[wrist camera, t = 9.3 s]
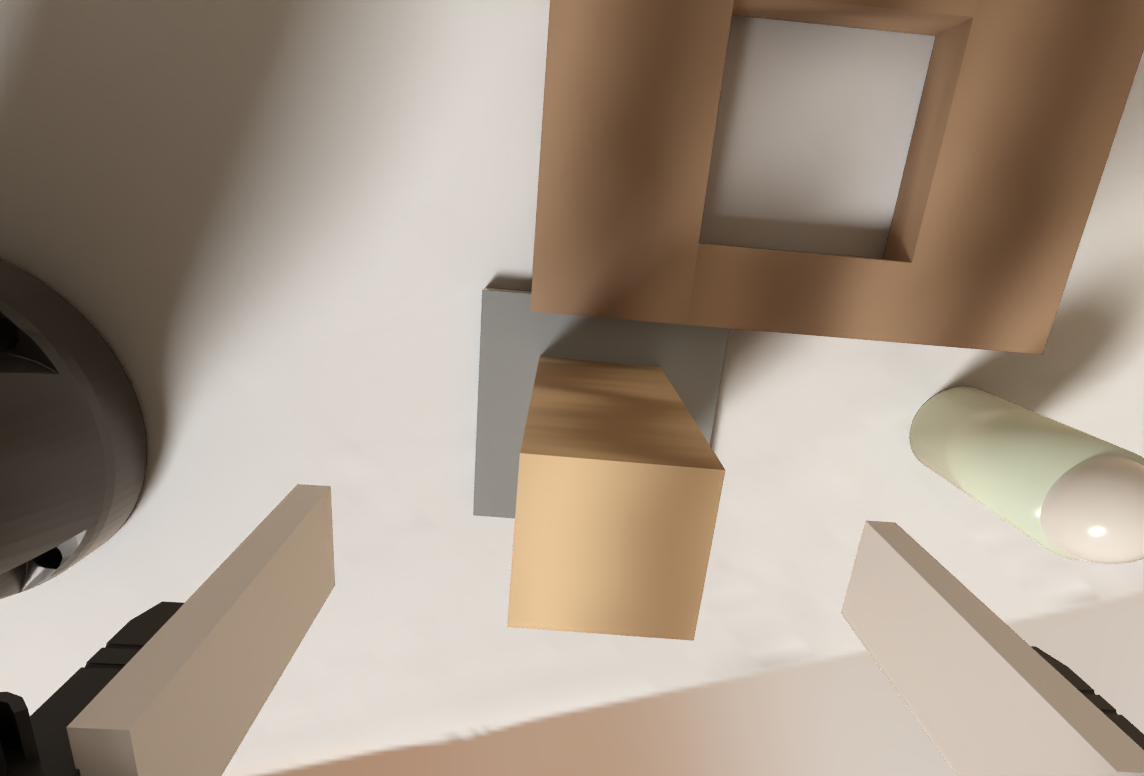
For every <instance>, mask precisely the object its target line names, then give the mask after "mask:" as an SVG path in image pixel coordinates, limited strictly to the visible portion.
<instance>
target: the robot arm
mask: <svg viewBox="0 0 1144 776" xmlns="http://www.w3.org/2000/svg"><path fill="white" fill-rule="evenodd" d="M146 458H147V453H146V436H145V429H144V424H143V419H142V415H141V411H140V408H139V405H138V402H137V399H136V396H135V393H134V391H133V389H132V386H131V384H130V382H129V380H128V378H127V376H126V374H125V372H124V370H123V368H122V367H121V365H120V363H119V362H118V360H117V358H116V357H115V355H114V354H113V352H112V351H111V349H110V348H109V346H108V345H107V344H106V342H105V341H104V340H103V339H102V337H101V336H100V335H99V334H98V332H97V331H96V330H95V329H94V328H93V327H92V325H91V324H90V323H89V322H88V321H87V320H86V319H85V318H84V317H83V316H82V315H81V314H80V313H79V312H78V311H77V310H76V309H75V308H74V307H72V306H71V305H70V304H69V303H68V302H67V301H66V300H64V299H63V298H62V297H61V296H60V295H58V294H57V293H56V292H55V291H53V290H52V289H50V288H49V287H48V286H46V285H45V284H43V283H42V282H40V281H39V280H37V279H36V278H34V277H33V276H31V275H29V274H28V273H26V272H24V271H22V270H20V269H19V268H17V267H15V266H13V265H11V264H9V263H7V262H5V261H3V260H1V259H0V599H2V598H5V597H8V596H11V595H14V594H17V593H20V592H23V591H26V590H28V589H31V588H33V587H35V586H38V585H40V584H42V583H44V582H46V581H48V580H50V579H52V578H54V577H56V576H57V575H59V574H61V573H62V572H64V571H65V570H67V569H68V568H70V567H71V566H73V565H74V564H75V563H77V562H78V561H80V560H81V559H83V558H84V557H86V556H87V555H88V554H90V553H91V552H93V551H94V550H96V549H97V548H98V547H100V546H101V545H102V544H104V543H105V542H106V541H108V540H109V539H110V538H111V537H112V536H113V535H114V534H115V533H116V532H117V531H118V530H119V529H120V528H121V526H122V525H123V524H124V522H125V521H126V520H127V518H128V517H129V515H130V513H131V512H132V510H133V508H134V506H135V504H136V502H137V500H138V497H139V494H140V492H141V489H142V485H143V481H144V476H145V470H146ZM334 586H335V575H334V553H333V530H332V507H331V486H316V485H300V484H298V485H297V486H296V487H295V488H294V489H293V490H292V491H291V492H290V493H289V494H288V495H287V496H286V497H285V498H284V499H283V500H282V501H281V502H280V504H279V505H278V506H277V507H276V508H275V509H274V510H273V511H272V512H271V513H270V514H269V515H268V516H267V517H266V518H265V519H264V520H263V521H262V522H261V523H260V525H259V526H258V527H257V528H256V529H255V530H254V531H253V532H252V533H251V534H250V535H249V536H248V537H247V538H246V539H245V540H244V541H243V542H242V543H241V544H240V546H239V547H238V548H237V549H236V550H235V551H234V552H233V553H232V554H231V555H230V556H229V557H228V558H227V559H226V560H225V561H224V562H223V563H222V564H221V565H220V567H219V568H218V569H217V570H216V571H215V572H214V573H213V574H212V575H211V576H210V577H209V578H208V579H207V580H206V581H205V582H204V583H203V584H202V585H201V586H200V588H199V589H198V590H197V591H196V592H195V593H194V594H193V595H192V596H191V597H190V598H189V599H188V600H187V601H186V602H185V603H177V602H161V603H159V604H158V605H156V606H154V607H152V608H151V609H149V610H147V611H146V612H144V613H142V614H141V615H139V616H137V617H135V618H134V619H132V620H130V621H129V622H128V623H127V624H126V625H125V626H124V627H123V628H122V629H121V630H120V631H119V632H118V633H117V634H116V635H115V636H114V637H113V638H112V639H111V640H110V641H108V642H107V645H106V647H105V648H101V649H100V650H99V651H98V652H97V653H96V654H95V655H94V656H93V657H92V658H91V659H90V660H89V661H88V662H87V663H86V666H85V668H80V669H79V670H78V671H77V672H76V673H75V674H74V675H73V676H72V677H71V678H70V679H69V680H68V681H67V682H66V683H65V684H64V685H63V686H61V687H60V688H59V689H58V690H57V691H56V692H55V693H54V694H53V695H52V696H51V697H50V698H49V699H48V700H47V701H46V702H45V703H44V704H43V705H42V706H41V707H40V708H38V709H37V710H36V711H35V712H34V713H33V714H32V715H31V716H29V712H28V708H27V706H26V704H25V702H24V700H23V698H22V697H20V696H17V695H15V694H12V693H9V692H0V776H222V774H223V772H224V770H225V769H226V767H227V765H228V764H229V762H230V760H231V759H232V757H233V755H234V754H235V752H236V750H237V749H238V747H239V745H240V744H241V742H242V740H243V739H244V737H245V735H246V734H247V732H248V730H249V728H250V727H251V725H252V723H253V722H254V720H255V718H256V717H257V715H258V713H259V712H260V710H261V708H262V707H263V705H264V703H265V702H266V700H267V698H268V697H269V695H270V693H271V692H272V690H273V688H274V686H275V685H276V683H277V681H278V680H279V678H280V676H281V675H282V673H283V671H284V670H285V668H286V666H287V665H288V663H289V661H290V660H291V658H292V656H293V655H294V653H295V651H296V650H297V648H298V646H299V644H300V643H301V641H302V639H303V638H304V636H305V634H306V633H307V631H308V629H309V628H310V626H311V624H312V623H313V621H314V619H315V618H316V616H317V614H318V613H319V611H320V609H321V608H322V606H323V604H324V602H325V601H326V599H327V597H328V596H329V594H330V592H331V591H332V589H333V587H334ZM841 614H842V615H843V617H844V618H845V620H846V621H847V622H848V624H849V625H850V627H851V628H852V630H853V631H854V632H855V634H856V635H857V637H858V638H859V639H860V641H861V642H862V644H863V645H864V646H865V648H866V649H867V651H868V652H869V653H870V655H871V656H872V658H873V659H874V661H875V662H876V663H877V665H878V666H879V668H880V669H881V670H882V672H883V673H884V675H885V676H886V677H887V679H888V680H889V682H890V683H891V685H892V686H893V687H894V689H895V690H896V692H897V693H898V694H899V696H900V697H901V699H902V700H903V701H904V703H905V704H906V706H907V707H908V708H909V710H910V711H911V713H912V714H913V716H914V717H915V718H916V720H917V721H918V723H919V724H920V725H921V727H922V728H923V730H924V731H925V732H926V734H927V735H928V737H929V738H930V740H931V741H932V742H933V744H934V745H935V747H936V748H937V749H938V751H939V752H940V754H941V755H942V756H943V758H944V759H945V761H946V762H947V763H948V765H949V766H950V768H951V769H952V771H953V772H954V773H955V775H956V776H1144V734H1143V733H1142V732H1140V731H1139V730H1138V729H1137V728H1136V727H1134V725H1133V724H1131V723H1130V722H1129V721H1128V720H1127V719H1126V718H1124V716H1122V715H1118V714H1117V713H1116V709H1114V708H1113V707H1112V706H1111V705H1110V704H1109V703H1108V702H1107V701H1106V700H1104V699H1103V698H1102V697H1101V696H1100V695H1095V693H1094V690H1093V689H1092V688H1091V687H1090V686H1089V685H1087V684H1086V683H1085V682H1084V681H1083V680H1082V679H1081V678H1080V677H1079V676H1077V675H1076V674H1075V673H1074V672H1073V671H1072V670H1071V669H1070V668H1068V667H1067V666H1065V665H1064V664H1062V663H1061V662H1059V661H1058V660H1056V659H1054V658H1053V657H1051V656H1050V655H1048V654H1046V653H1045V652H1043V651H1042V650H1040V649H1039V648H1037V647H1031V646H1029V645H1028V644H1027V643H1026V642H1025V641H1024V640H1023V639H1022V638H1020V636H1019V635H1017V634H1016V633H1015V632H1014V631H1013V630H1012V629H1011V628H1010V627H1009V626H1008V625H1007V624H1005V623H1004V622H1003V621H1002V620H1001V619H1000V618H999V617H998V616H997V615H996V614H995V613H993V612H992V611H991V610H990V609H989V608H988V607H987V606H986V605H985V604H984V603H983V602H981V601H980V600H979V599H978V598H977V597H976V596H975V595H974V594H973V593H972V592H971V591H969V590H968V589H967V588H966V587H965V586H964V585H963V584H962V583H961V582H960V581H959V580H957V579H956V578H955V577H954V576H953V575H952V574H951V573H950V572H949V571H948V570H946V569H945V568H944V567H943V566H942V565H941V564H940V563H939V562H938V561H937V560H936V559H934V558H933V557H932V556H931V555H930V554H929V553H928V552H927V551H926V550H925V549H924V548H922V547H921V546H920V545H919V544H918V543H917V542H916V541H915V540H914V539H913V538H912V537H910V536H909V535H908V534H907V533H906V532H905V531H904V530H903V529H902V528H901V527H900V526H898V525H897V524H896V523H893V522H877V521H865V525H864V529H863V533H862V536H861V540H860V544H859V548H858V551H857V555H856V559H855V562H854V566H853V570H852V574H851V577H850V581H849V585H848V588H847V592H846V596H845V600H844V603H843V607H842V611H841Z"/></svg>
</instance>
